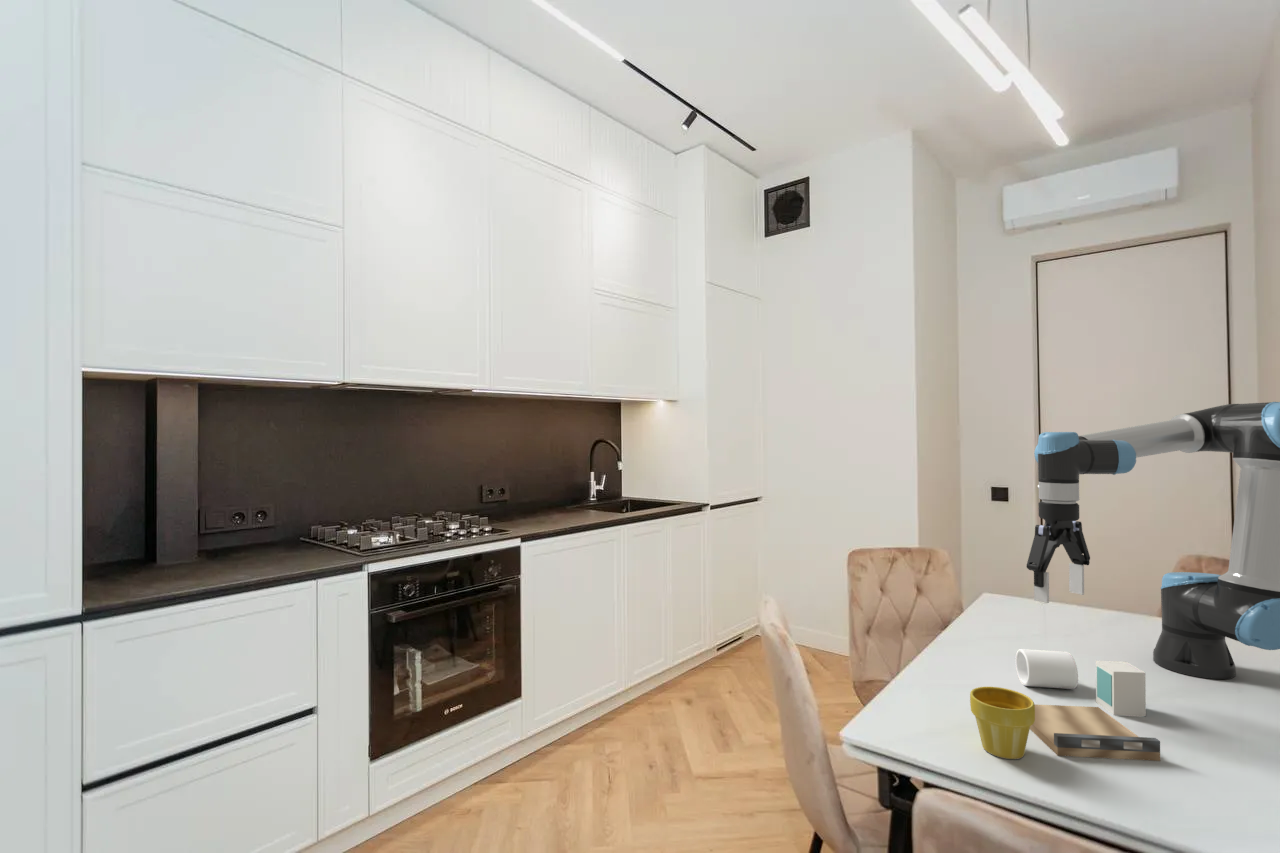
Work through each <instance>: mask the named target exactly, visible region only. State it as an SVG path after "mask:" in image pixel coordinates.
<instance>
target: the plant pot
mask: <svg viewBox="0 0 1280 853" xmlns="http://www.w3.org/2000/svg"><path fill="white" fill-rule="evenodd" d="M969 699H970V700H969V702H970V704H969V705H970V711H971V714H972V715H973V716H974V717H975V720H976V725H977V729H978V733H979V736H980V741H981V745H982V748H983V749H984V750H985V751H986V752H987V753H988V754H990V755H992V756H995V757H997V758H1001V759H1007V760H1019V759H1021V758H1023V757H1024V756H1025V753H1026V748H1027V743H1028V739H1029V733H1030V731H1031V730H1030V726H1031V725H1033V724H1034V722H1035V705H1034V704H1035V703H1034V701H1033V699H1032V698H1031V697H1029V696H1028V695H1026V694H1024V693H1021V692H1019V691H1016V690H1014V689H1009V688H1004V687H997V686H979V687H975V688H973V689H972V690H970V692H969Z"/></svg>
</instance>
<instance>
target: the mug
mask: <svg viewBox="0 0 1280 853" xmlns="http://www.w3.org/2000/svg"><path fill="white" fill-rule="evenodd" d="M1014 659H1015V661H1014V662H1015V671H1016V674H1017V677H1018V680H1019V682H1020V683H1021V684H1022V685H1023V686H1025V687H1032V688H1033V687H1034V688H1036V687H1037V688H1051V689H1064V690H1065V689H1066V690H1074V689H1076V688H1077V685H1078V681H1079V670H1078V666H1077V663H1076V661H1075V658H1074V657H1073V655H1072V654H1071V653H1070V652H1069V651H1060V650H1043V649H1027V648H1019V649H1018V650H1017V651H1016V653H1015V658H1014Z"/></svg>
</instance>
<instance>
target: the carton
mask: <svg viewBox="0 0 1280 853" xmlns="http://www.w3.org/2000/svg"><path fill="white" fill-rule="evenodd" d="M1146 691H1147V690H1146V672H1145V671H1143V670H1142V669H1139V668H1138V667H1136V666H1135V665H1132V664H1131V663H1129V662H1127V661H1113V660H1111V661H1109V660H1095V700H1096V701H1095V702H1096V704H1097V705H1099V706H1100V707H1102V708H1103V709H1104V710H1106V711H1107V710H1108V711H1107V712H1109V713H1110V714H1111V713H1112V714H1111V715H1113V716H1118V715H1125V716H1126V717H1141V716H1146V717H1147V711H1146V710H1147V709H1146V708H1147V707H1146V706H1147V704H1146V703H1147V702H1146V696H1147V695H1146ZM1125 716H1124V717H1125Z"/></svg>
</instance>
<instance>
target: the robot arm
mask: <svg viewBox="0 0 1280 853" xmlns="http://www.w3.org/2000/svg"><path fill="white" fill-rule="evenodd" d="M1037 440H1038V442H1037V445H1036V446H1035V449H1034V451H1033V452H1034V459H1035V462H1036V463H1037V473H1038V475H1037V477H1038V478H1037V479H1038V485H1037V489H1038V499H1040V500H1041V501H1039V502H1038V517H1039V519H1042V520H1043V521H1044V525H1042V524H1036V525H1035V526H1034V527H1035V528H1034V537H1033V540H1032V543H1031V548H1030V552H1029V555H1028V559H1027V561H1026V562H1027V563H1026V569H1028V571H1033V601H1035V602H1040V603H1043V604H1049V603H1050V576H1049V575H1050V572H1047V570H1048V567H1049V565H1050V563H1051V560H1052V558H1053V556H1054V554H1055V552H1056V549H1057V548H1059V547H1060V546H1061V545H1062V546H1063V548H1064V550H1065V551H1066V553H1067V555H1068V557H1069V559H1070V561H1071V562H1069V564H1068V574H1069V576H1068V577H1069V578H1068V579H1069V580H1068V582H1069V585H1068V588H1069V589H1068V590H1069V592H1068V593H1073V594H1077V595H1085V566H1089V565H1090V560H1091V555H1090V552H1089V549H1088V545H1087V542H1086V538H1085V535H1084V532H1083V524H1082V521H1078V520H1079V519H1080V504H1079V503H1078V502H1079V501H1080V475H1113V476H1115V475H1118V474H1121V475H1122V474H1128V473H1129V472H1131V471H1133V469H1134V467H1135V465H1136V463H1137V458H1143V457H1150V456H1154V455H1160V454H1166V453H1172V452H1179V451H1180V452H1182V453H1185V454H1192V453H1193V454H1194V453H1198V452H1199V453H1200V452H1214V453H1216V452H1218V453H1219V452H1220V453H1232V460H1233V461H1234V463H1235V464H1237V465H1238V466H1239V467H1240V471H1239V477H1238V478H1239V479H1238V486H1237V496H1236V502H1235V503H1236V505H1235V512H1234V521H1233V530H1232V538H1231V545H1230V552H1229V553H1230V554H1229V562H1228V569H1227V571H1226V572H1225V573H1223V574H1217V573H1208V572H1192V571H1191V572H1189V571H1188V572H1186V571H1185V572H1183V571H1181V572H1180V571H1178V572H1177V571H1176V572H1175V571H1174V572H1173V571H1172V572H1167V573H1165V574H1163V576H1162V578H1161V586H1160V599H1161V602H1160V604H1161V632H1160V635H1159V637H1158V639H1157V641H1156V644H1155V647H1154V648H1153V650H1152V651H1153V652H1152V661H1153V662H1154V663H1155V664H1156V665H1158V666H1160V667H1161V668H1162V667H1163V668H1165V669H1167V670H1169V671H1172V672H1175V673H1179V674H1183V675H1187V676H1191V677H1198V678H1203V679H1210V680H1211V679H1212V680H1225V679H1226V680H1229V679H1233V678H1235V677H1236V676H1237V674H1236V672H1237V670H1236V664H1235V662H1234V659H1233V657H1232V654H1231V652H1230V649H1229V647H1228V644H1227V642H1226V638H1228V639H1231V640H1234V641H1236V642H1239V643H1241V644H1243V645H1245V646H1248V647H1254V648H1258V649H1260V650H1261V649H1262V650H1266V651H1276V650H1277V651H1278V650H1280V401H1272V402H1271V401H1269V402H1253V403H1230V404H1229V403H1227V404H1223V405H1217V406H1213V407H1209V408H1203V409H1200V410H1195V411H1190V412H1186V413H1185V412H1184V413H1180V414H1177V415H1175V416H1172V418H1171V419H1170V420H1165V421H1159V422H1152V423H1147V424H1141V425H1135V426H1131V427H1130V426H1128V427H1124V428H1118V429H1112V430H1107V431H1106V430H1105V431H1099V432H1093V433H1089V434H1083V435H1079V434H1078V433H1077V432H1076V431H1045V432H1042V433H1040V434H1039V435H1038V439H1037Z"/></svg>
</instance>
